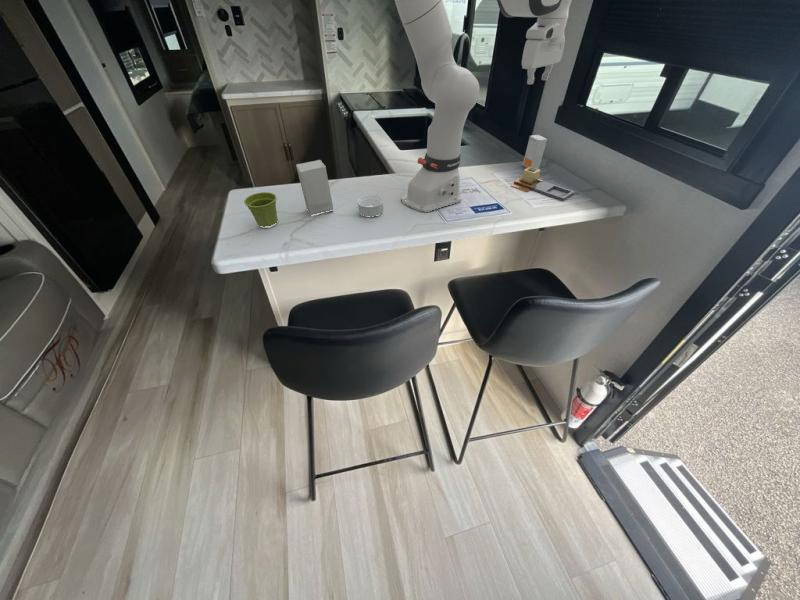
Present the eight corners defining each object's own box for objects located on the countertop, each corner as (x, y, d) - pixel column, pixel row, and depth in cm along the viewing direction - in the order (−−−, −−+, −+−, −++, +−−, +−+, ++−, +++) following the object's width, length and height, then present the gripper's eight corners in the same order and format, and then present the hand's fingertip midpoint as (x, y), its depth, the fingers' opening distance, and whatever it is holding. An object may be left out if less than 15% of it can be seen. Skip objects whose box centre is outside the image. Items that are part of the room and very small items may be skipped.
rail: (559, 203, 112) (560, 200, 112) (509, 185, 123) (510, 182, 122) (573, 194, 118) (574, 190, 117) (524, 177, 129) (525, 174, 128)
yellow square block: (530, 187, 122) (534, 172, 118) (519, 184, 125) (523, 169, 121) (536, 184, 124) (541, 169, 120) (526, 180, 127) (530, 165, 123)
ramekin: (355, 209, 111) (353, 197, 108) (379, 204, 114) (378, 192, 111) (362, 221, 105) (361, 209, 102) (387, 216, 108) (387, 204, 105)
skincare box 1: (329, 204, 114) (321, 158, 103) (334, 212, 110) (327, 166, 99) (305, 209, 111) (295, 163, 101) (310, 217, 107) (299, 171, 96)
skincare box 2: (522, 165, 138) (529, 135, 129) (530, 164, 139) (538, 134, 130) (530, 170, 133) (538, 140, 125) (539, 169, 134) (547, 138, 126)
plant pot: (288, 224, 104) (281, 199, 98) (261, 235, 99) (252, 209, 93) (274, 214, 109) (267, 189, 103) (248, 224, 104) (238, 198, 98)
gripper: (556, 27, 109) (544, 76, 119) (523, 31, 99) (513, 84, 108) (574, 28, 106) (560, 78, 115) (542, 32, 96) (530, 87, 105)
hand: (537, 81), depth 112 cm, fingers open, 8 cm apart
